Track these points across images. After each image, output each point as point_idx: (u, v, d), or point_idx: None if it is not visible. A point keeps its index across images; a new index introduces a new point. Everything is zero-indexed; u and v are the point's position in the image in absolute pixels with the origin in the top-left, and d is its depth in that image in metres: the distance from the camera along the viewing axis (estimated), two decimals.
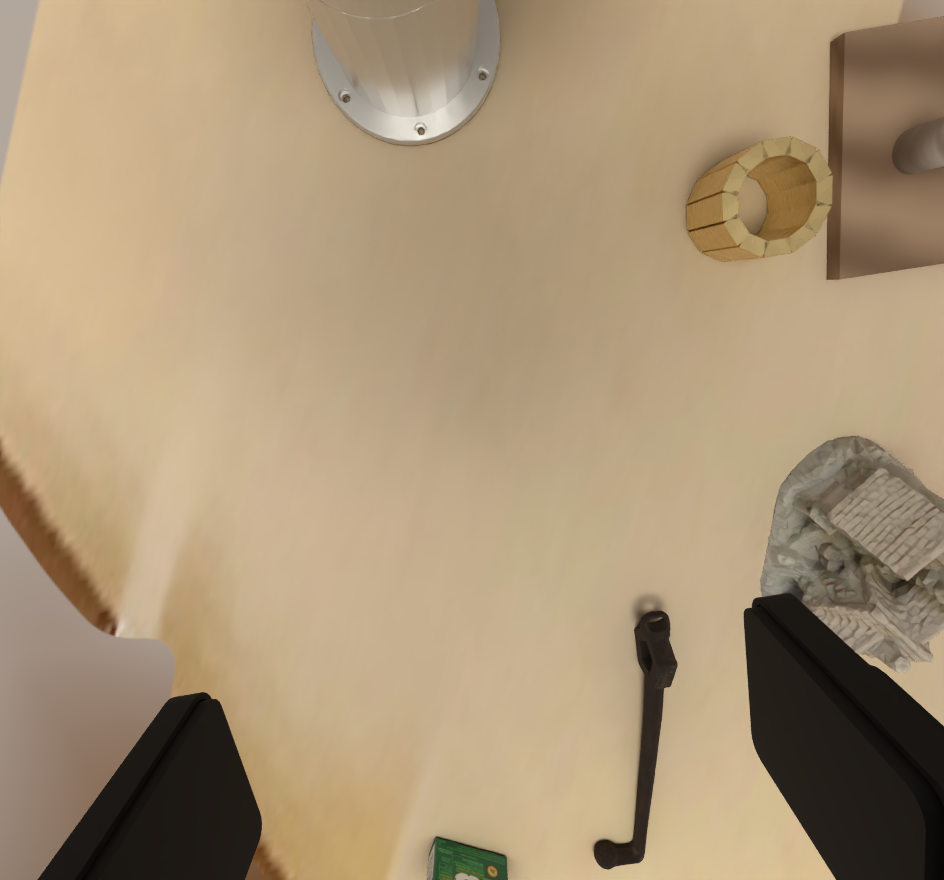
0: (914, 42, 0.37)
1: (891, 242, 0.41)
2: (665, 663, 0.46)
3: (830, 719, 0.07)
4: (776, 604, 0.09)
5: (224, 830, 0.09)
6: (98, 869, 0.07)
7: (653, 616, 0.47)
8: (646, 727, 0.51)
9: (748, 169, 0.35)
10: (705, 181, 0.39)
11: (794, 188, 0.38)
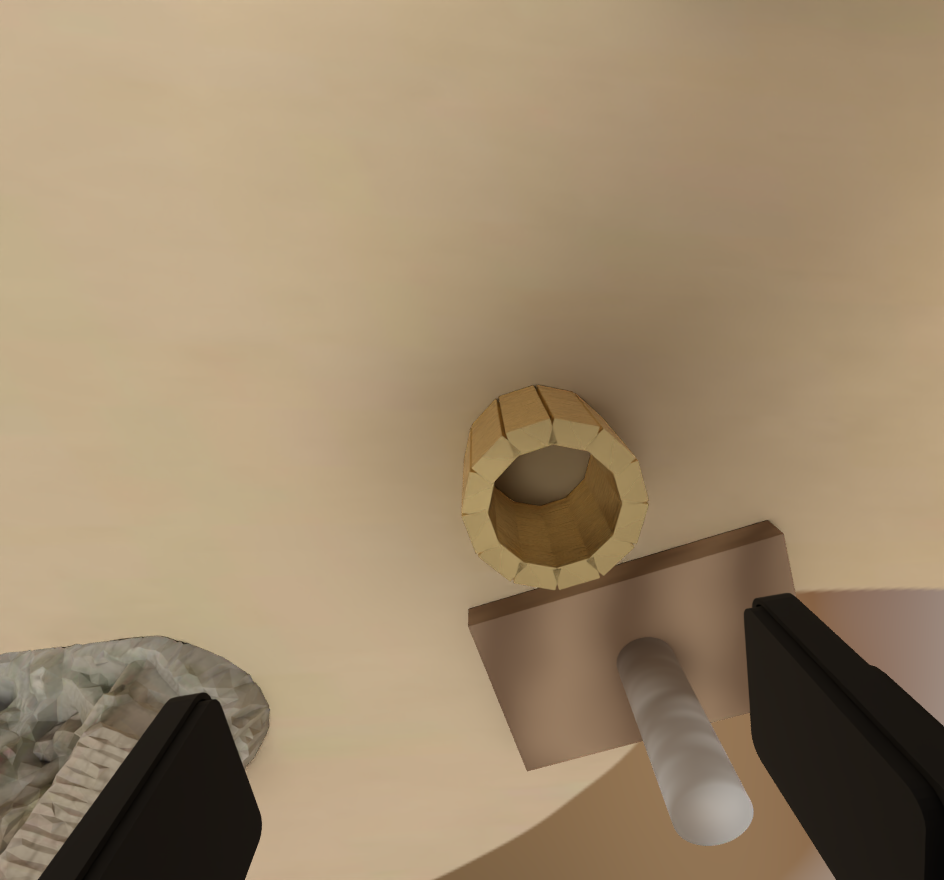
0: None
1: (528, 673, 0.29)
2: None
3: (830, 719, 0.07)
4: (776, 604, 0.09)
5: (224, 830, 0.09)
6: (98, 869, 0.07)
7: None
8: None
9: (592, 450, 0.21)
10: (570, 399, 0.24)
11: (577, 529, 0.25)
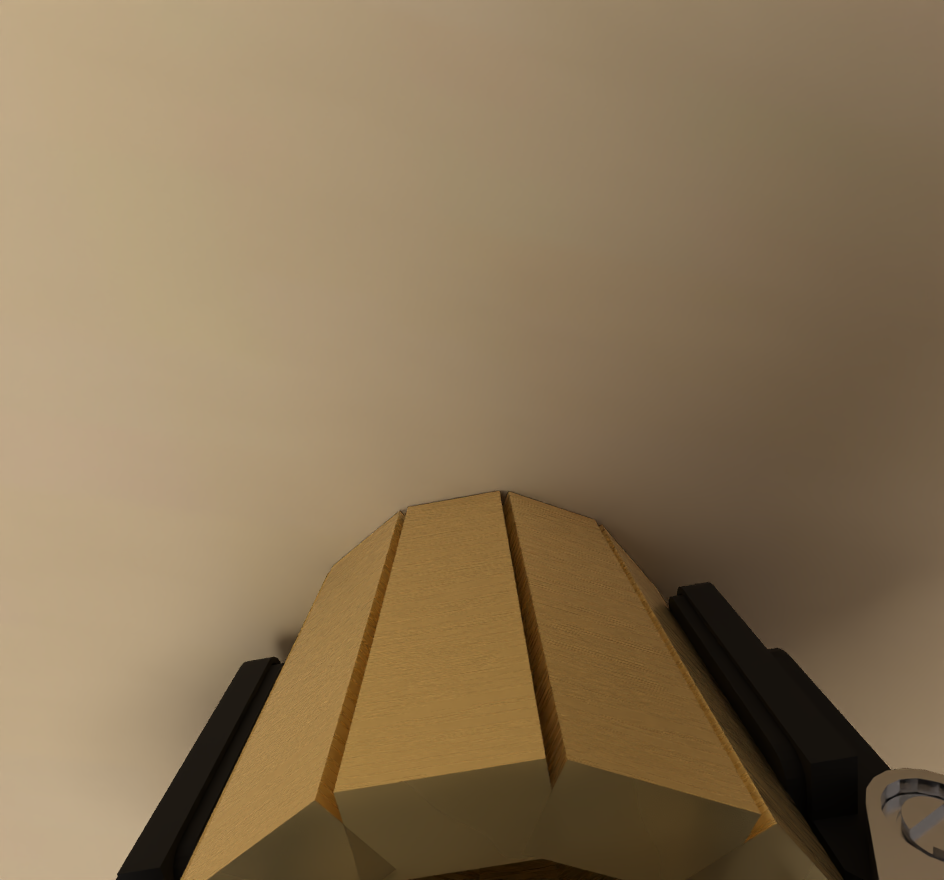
0: None
1: None
2: None
3: (726, 694, 0.08)
4: (695, 592, 0.09)
5: None
6: (207, 804, 0.07)
7: None
8: None
9: None
10: (598, 562, 0.08)
11: None
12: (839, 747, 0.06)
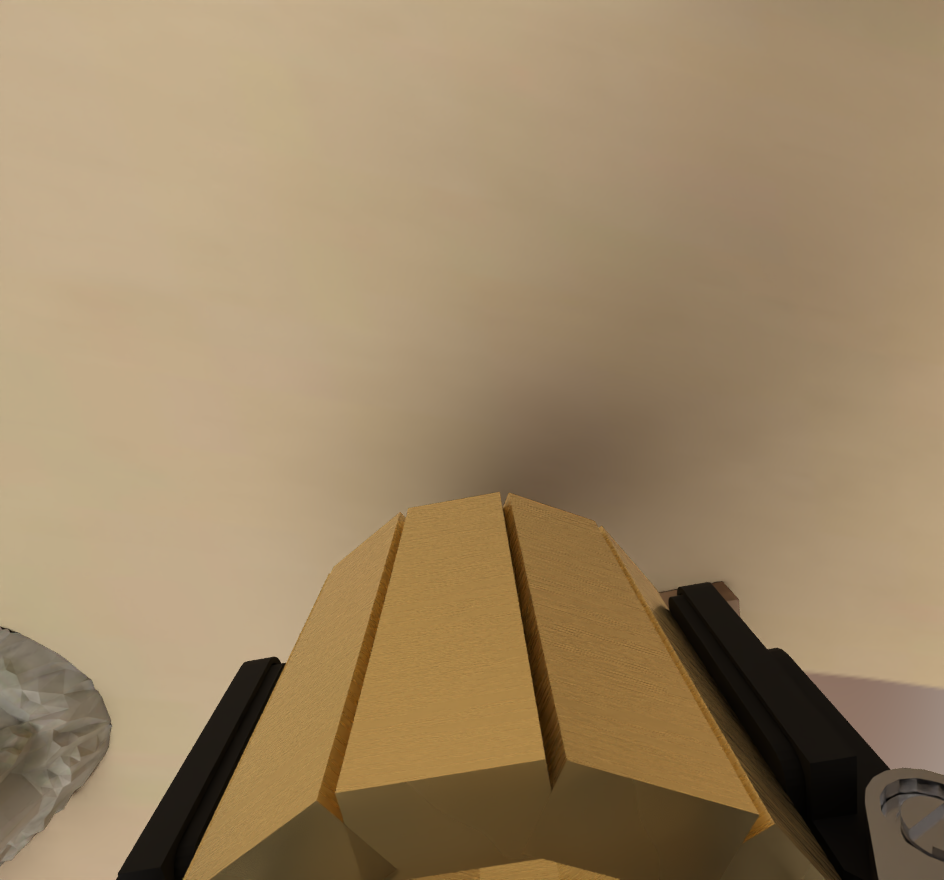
0: None
1: None
2: None
3: (726, 694, 0.08)
4: (695, 592, 0.09)
5: None
6: (207, 804, 0.07)
7: None
8: None
9: None
10: (598, 563, 0.08)
11: None
12: (838, 747, 0.06)
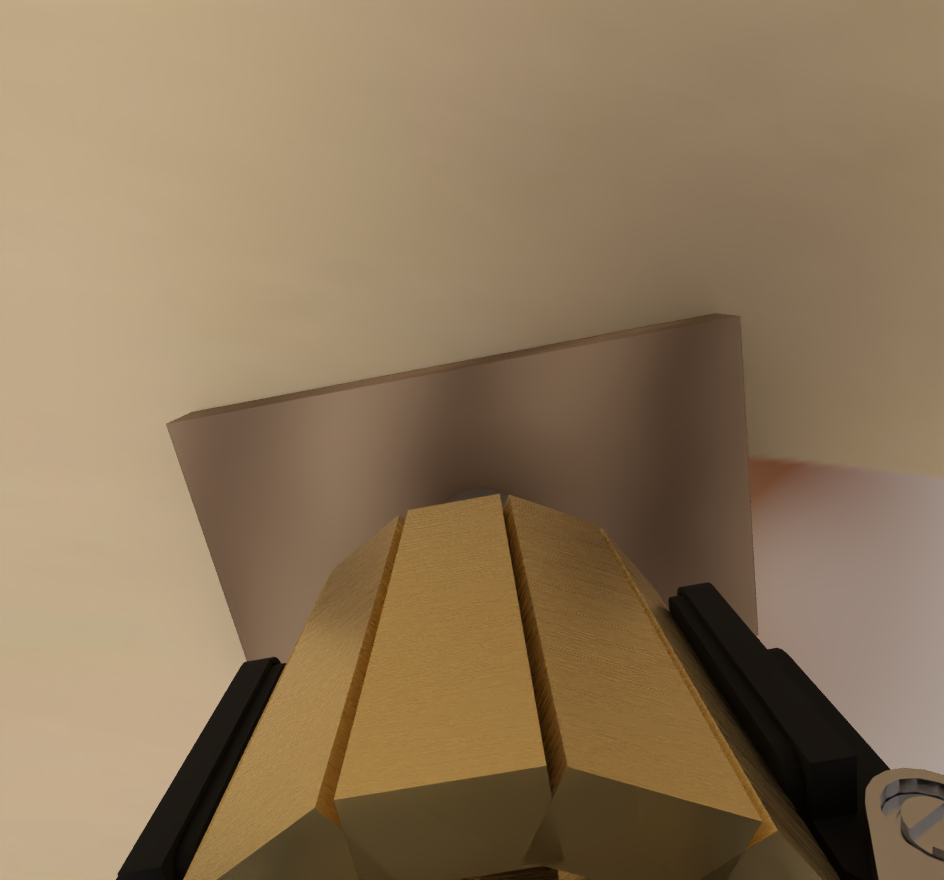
0: (705, 485, 0.16)
1: (273, 531, 0.16)
2: None
3: (726, 694, 0.08)
4: (695, 592, 0.09)
5: None
6: (207, 804, 0.07)
7: None
8: None
9: None
10: (598, 566, 0.08)
11: None
12: (838, 747, 0.06)
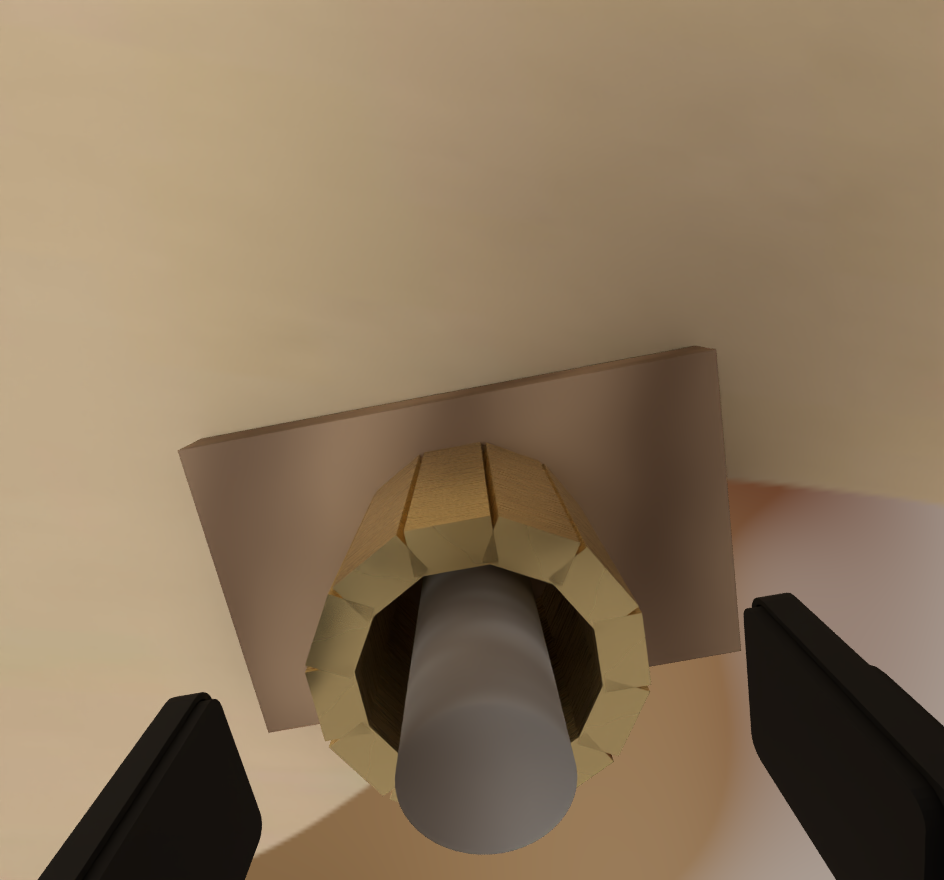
0: (687, 507, 0.17)
1: (277, 552, 0.17)
2: None
3: (830, 719, 0.07)
4: (776, 604, 0.09)
5: (224, 830, 0.09)
6: (98, 869, 0.07)
7: None
8: None
9: (561, 584, 0.11)
10: (534, 475, 0.15)
11: None
12: None
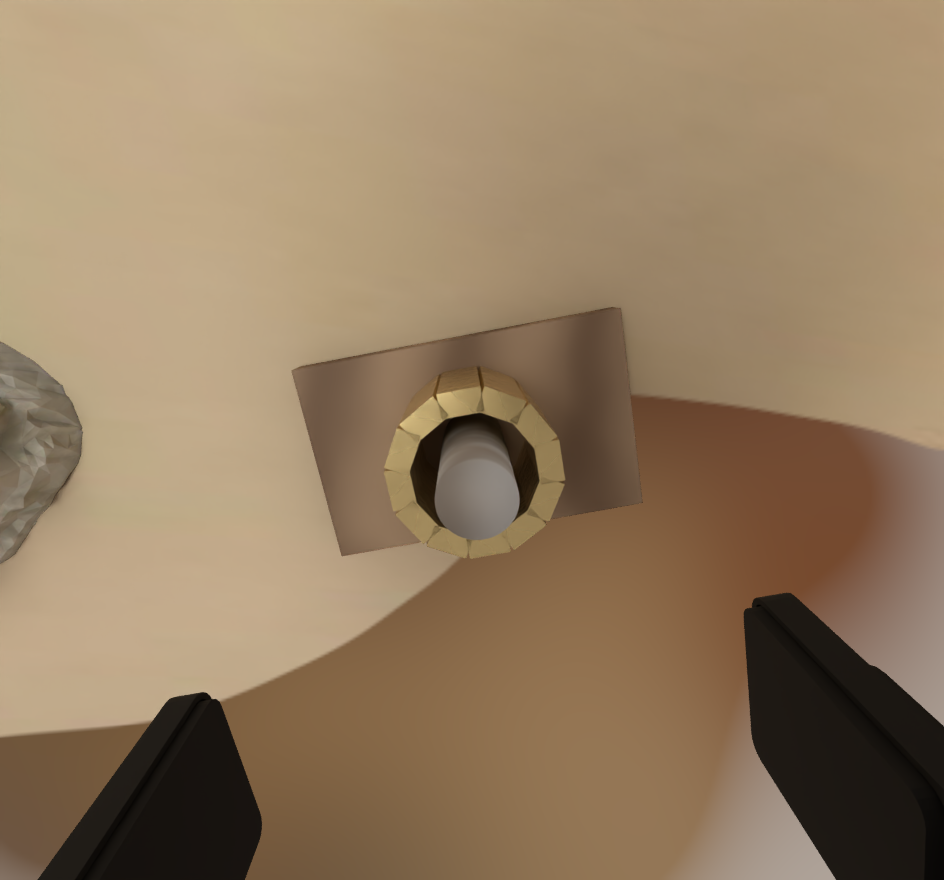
0: (606, 408, 0.28)
1: (350, 436, 0.28)
2: None
3: (830, 719, 0.07)
4: (776, 604, 0.09)
5: (224, 830, 0.09)
6: (98, 869, 0.07)
7: None
8: None
9: (516, 423, 0.22)
10: (508, 381, 0.25)
11: None
12: None
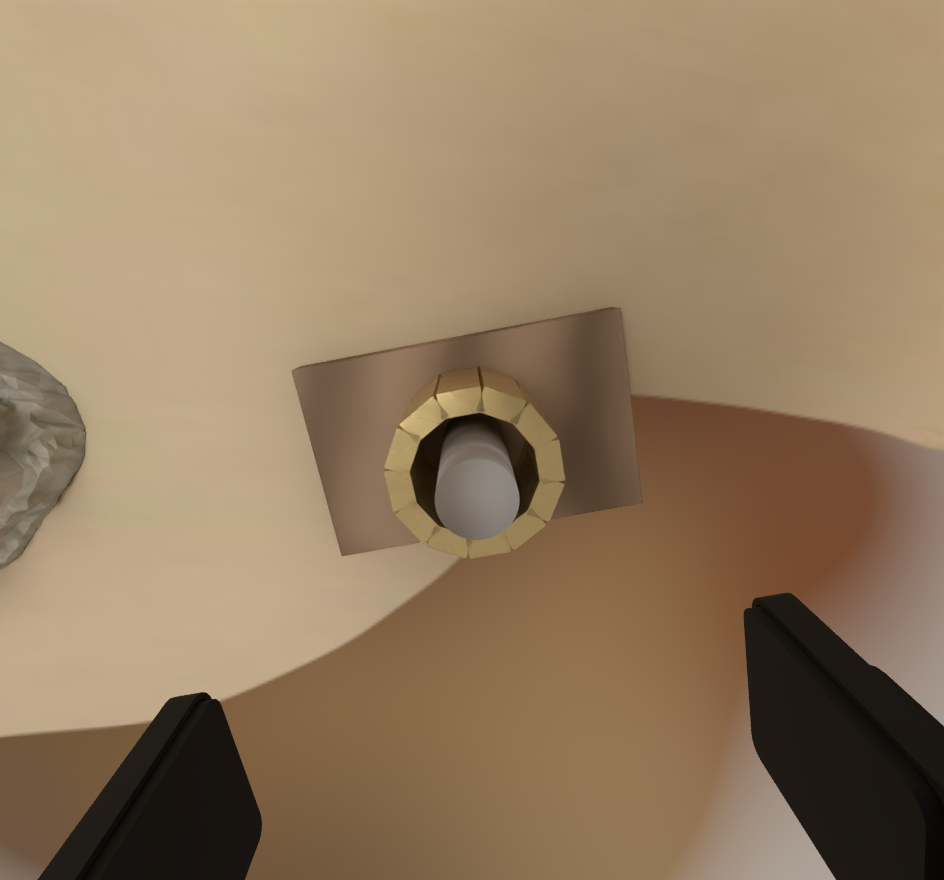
0: (606, 408, 0.28)
1: (350, 436, 0.28)
2: None
3: (830, 719, 0.07)
4: (776, 604, 0.09)
5: (224, 830, 0.09)
6: (98, 869, 0.07)
7: None
8: None
9: (516, 423, 0.22)
10: (508, 381, 0.25)
11: None
12: None
